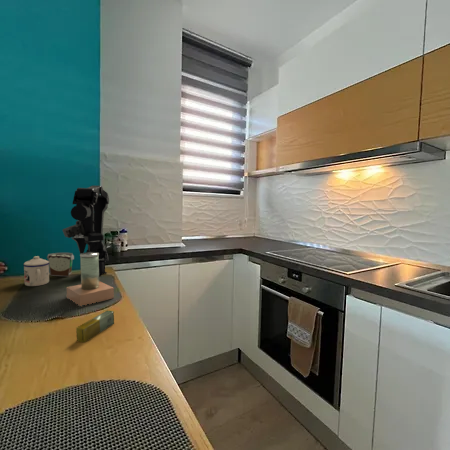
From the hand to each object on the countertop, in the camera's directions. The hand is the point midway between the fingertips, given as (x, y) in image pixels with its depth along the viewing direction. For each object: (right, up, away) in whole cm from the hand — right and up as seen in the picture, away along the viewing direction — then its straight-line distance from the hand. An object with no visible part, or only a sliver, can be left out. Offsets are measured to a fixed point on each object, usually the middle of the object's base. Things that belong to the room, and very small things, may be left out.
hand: (86, 255), depth 115 cm
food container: (-20, -11, +17) cm, 28 cm away
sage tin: (+8, -10, -13) cm, 18 cm away
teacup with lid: (-21, -12, +1) cm, 25 cm away
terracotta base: (+8, -14, -12) cm, 20 cm away
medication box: (+22, -18, -37) cm, 47 cm away
